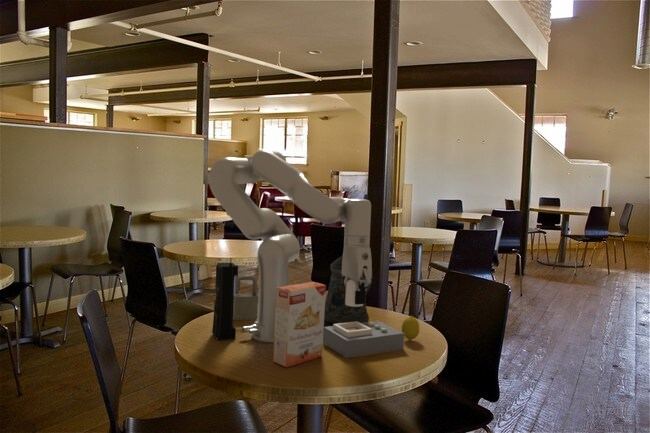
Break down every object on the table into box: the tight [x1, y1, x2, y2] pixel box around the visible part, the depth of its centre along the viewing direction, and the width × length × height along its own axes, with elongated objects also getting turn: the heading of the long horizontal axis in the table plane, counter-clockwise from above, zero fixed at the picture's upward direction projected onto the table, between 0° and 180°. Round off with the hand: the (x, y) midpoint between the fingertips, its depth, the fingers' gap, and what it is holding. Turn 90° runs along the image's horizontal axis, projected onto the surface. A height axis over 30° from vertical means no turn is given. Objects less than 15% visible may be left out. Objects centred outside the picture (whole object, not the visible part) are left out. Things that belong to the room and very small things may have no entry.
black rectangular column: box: [211, 257, 239, 341], centre depth 162 cm, size 8×6×25 cm
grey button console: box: [323, 320, 405, 359], centre depth 159 cm, size 20×14×6 cm
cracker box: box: [272, 281, 327, 368], centre depth 145 cm, size 14×6×21 cm, turn 137°
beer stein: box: [324, 253, 374, 327], centre depth 181 cm, size 16×19×25 cm
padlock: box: [233, 275, 259, 321], centre depth 183 cm, size 4×8×15 cm, turn 110°
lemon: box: [401, 315, 420, 342], centre depth 166 cm, size 6×6×8 cm
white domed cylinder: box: [345, 279, 363, 307], centre depth 156 cm, size 5×5×8 cm
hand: (354, 300), depth 156 cm, fingers closed on white domed cylinder, 5 cm apart
